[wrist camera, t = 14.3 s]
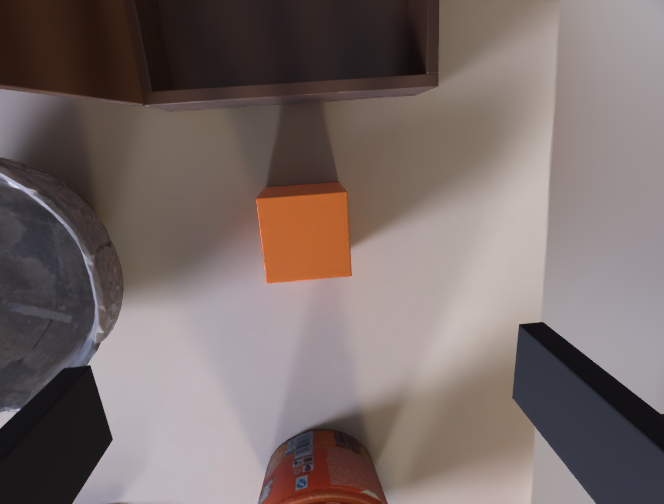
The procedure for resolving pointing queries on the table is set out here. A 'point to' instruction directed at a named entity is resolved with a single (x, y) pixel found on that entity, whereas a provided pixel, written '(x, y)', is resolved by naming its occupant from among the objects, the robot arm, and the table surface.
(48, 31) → the lid
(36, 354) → the bowl
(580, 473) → the robot arm
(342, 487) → the food container
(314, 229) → the cube
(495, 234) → the table surface
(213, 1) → the box
